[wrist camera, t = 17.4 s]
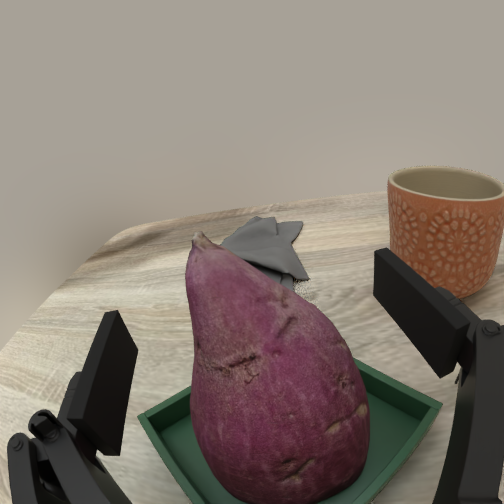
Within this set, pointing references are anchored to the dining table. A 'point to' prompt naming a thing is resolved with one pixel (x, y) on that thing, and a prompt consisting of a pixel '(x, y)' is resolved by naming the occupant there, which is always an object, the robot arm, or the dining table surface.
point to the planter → (446, 225)
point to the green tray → (349, 500)
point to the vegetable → (270, 385)
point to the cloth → (269, 248)
